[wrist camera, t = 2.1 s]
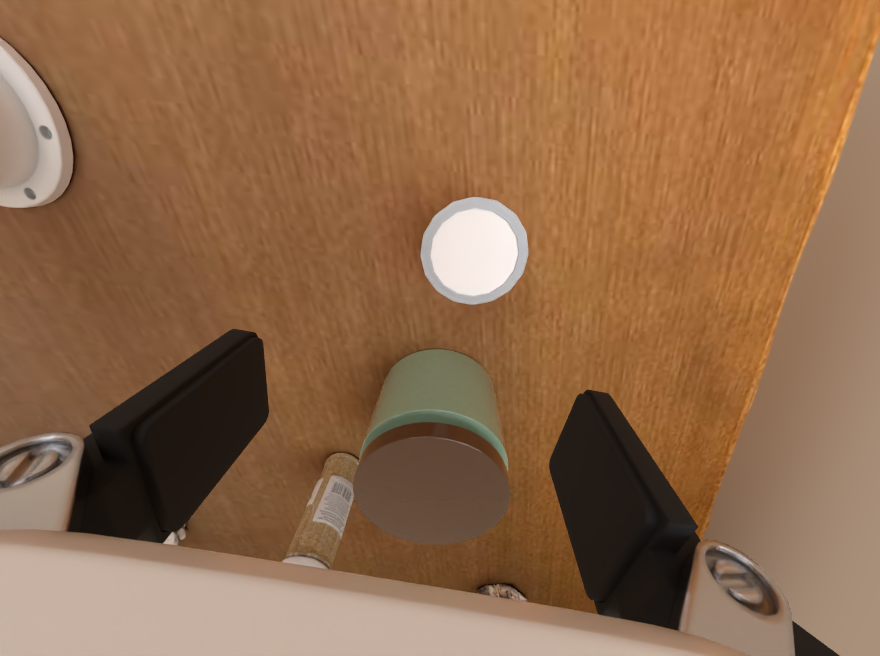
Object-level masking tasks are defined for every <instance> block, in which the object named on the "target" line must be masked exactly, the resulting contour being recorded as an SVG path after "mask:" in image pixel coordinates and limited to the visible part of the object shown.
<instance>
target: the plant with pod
mask: <svg viewBox="0 0 880 656" xmlns="http://www.w3.org/2000/svg"><path fill="white" fill-rule="evenodd" d="M476 594H482V595H488V596H494V597H500V598H506V599H512V600H518V601H524V602H527V601H528V599H526V598H524V597H523V596H522V595H521V593H517V591H516V589H515V588H513V587H511V586H508V585H507V586H506V585H503V584H502V585H501V584H497V586H495V585H494V584H493V585H491V586H489V587H488V585H487V586H484V588H483V587H481V589H479V590H478V591H477V593H476Z"/></svg>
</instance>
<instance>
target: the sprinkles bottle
mask: <svg viewBox="0 0 880 656" xmlns="http://www.w3.org/2000/svg"><path fill="white" fill-rule="evenodd" d="M358 463H359V460H358V459H357V458H356V457H354V456H352V455H350V454H347V453H336V454H333V455H331V456H330V457H329V458H328V459H327V460H326V462H325V466H324V469H323V472H322V474H321V476H320V478H319V481H318V482H317V484H316V486H315V488H314V491H313V493H312V495H311V498H310V500H309V502H308V504H307V507H306V510H305V512H304V514H303V517H302V520H301V522H300V524H299V527H298V529H297V531H296V533H295V535H294V538H293V540H292V543H291V545H290V547H289V550H288V552H287V554H286V556H285V557H284V559H283V561H282V562H285V563H291V564H298V565H304V566H310V567H316V568H323V569H329V570H331V566H332V563H333V561H334V557H335V554H336V551H337V548H338V545H339V542H340V540H341V537H342V534H343V531H344V528H345V524H346V521H347V518H348V515H349V511H350V508H351V505H352V502H353V499H354V493H353V480H354V475H355V472H356V469H357V466H358Z"/></svg>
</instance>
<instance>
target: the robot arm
mask: <svg viewBox="0 0 880 656" xmlns="http://www.w3.org/2000/svg"><path fill="white" fill-rule="evenodd" d="M72 172H73V151H72V144H71V139H70V135H69V132H68V129H67V126H66V122H65V120H64V118H63V116H62V114H61V112H60V109H59V107H58V105H57V103H56V102H55V100H54V98H53V97H52V95H51V93H50V92H49V90H48V89H47V87H46V85H45V84H44V83H43V81H42V80H41V79H40V77H39V76H38V75H37V74H36V72H35V71H34V70H33V69H32V67H31V66H30V65H29V64H28V63H27V62H26V61H25V60H24V59H23V58H22V57H21V56H20V55H19V54H18V53H17V52H16V51H15V50H14V48H13V47H11V46H10V45H9V44H8V43H6V42H5V41H4V40H3V39H1V38H0V206H4V207H9V208H28V207H36V206H43V205H46V204H48V203H51V202H53V201H55V200H56V199H57V198H58V197H60V196H61V195H62V194H63V192H64V191H65V189H66V188H67V186H68V185H69V182H70V179H71V175H72ZM268 414H269V407H268V395H267V383H266V372H265V360H264V348H263V341H262V339H260V338H258V336H257V334H256V333H254V332H249V331H244V330H238V329H232V330H230V331H228V332H227V333H225V334H224V335H222V336H221V337H219V338H218V339H217V340H215V341H214V342H212V343H211V344H209V345H208V346H206V347H205V348H203V349H202V350H200V351H199V352H197V353H196V354H194V355H193V356H191V357H190V358H188V359H187V360H185V361H184V362H182V363H181V364H179V365H178V366H177V367H175V368H174V369H172V370H171V371H169V372H168V373H166V374H165V375H163V376H162V377H160V378H159V379H157V380H156V381H154V382H153V383H151V384H150V385H148V386H147V387H145V388H144V389H142V390H141V391H140V392H138V393H137V394H135V395H134V396H132V397H131V398H129V399H128V400H126V401H125V402H123V403H122V404H120V405H119V406H117V407H116V408H114V409H113V410H111V411H110V412H108V413H107V414H105V415H104V416H103V417H101V418H100V419H98V420H97V421H95V422H94V423H92V424H91V425H89V426H90V429H91V431H92V434H90V435H89V436H87V437H86V438H84V439H81V438H80V437H79V436H78V435H75V434H71V433H67V432H53V433H47V434H40V435H35V436H32V437H28V438H25V439H21V440H18V441H15V442H13V443H10V444H8V445H6V446H3V447H1V448H0V656H839V655H838V654H837V653H835V652H834V651H833V650H831V649H830V648H828V647H827V646H826V645H824V644H823V643H822V642H820V641H819V640H818V639H816V638H815V637H814V636H812V635H811V634H810V633H808V632H806V630H804V629H803V628H801V627H800V626H799V625H797V624H796V623H795V622H793V621H792V613H791V610H790V607H789V604H788V601H787V599H786V597H785V596H784V594H783V592H782V591H781V589H780V587H779V586H778V585H777V584H776V583H775V581H774V580H773V579H772V578H771V577H770V575H769V574H768V573H767V572H766V571H765V570H763V569H762V568H761V567H760V566H759V565H758V564H757V563H756V562H755V561H753V560H752V559H751V558H749V557H748V556H747V555H745V554H744V553H742V552H741V551H739V550H737V549H735V548H734V547H732V546H730V545H728V544H726V543H723V542H720V541H717V540H707V539H706V540H703V541H700V539H699V537H698V536H697V534H696V533H695V530H696V529H697V528H698V526H697V524H696V523H695V521H694V520H693V518H692V517H691V515H690V514H689V512H688V511H687V509H686V508H685V506H684V505H683V503H682V502H681V500H680V499H679V497H678V496H677V494H676V493H675V491H674V490H673V488H672V487H671V485H670V484H669V482H668V481H667V479H666V478H665V476H664V475H663V473H662V472H661V470H660V469H659V467H658V466H657V464H656V463H655V461H654V460H653V459H652V457H651V456H650V454H649V453H648V451H647V450H646V448H645V447H644V445H643V444H642V442H641V441H640V439H639V438H638V436H637V435H636V433H635V432H634V430H633V429H632V427H631V426H630V424H629V423H628V421H627V420H626V418H625V417H624V415H623V414H622V412H621V411H620V409H619V408H618V406H617V405H616V403H615V402H614V400H613V399H612V397H611V396H610V395H609V394H608V393H604V392H598V391H592V390H586V391H585V392H584V393H583V394H579V395H578V396H577V398H576V400H575V402H574V405H573V407H572V409H571V412H570V414H569V416H568V419H567V421H566V423H565V426H564V428H563V430H562V433H561V435H560V437H559V440H558V442H557V444H556V447H555V449H554V451H553V454H552V456H551V458H550V463H549V468H550V473H551V476H552V480H553V483H554V487H555V490H556V493H557V497H558V500H559V503H560V507H561V510H562V514H563V517H564V520H565V524H566V527H567V530H568V534H569V537H570V541H571V544H572V547H573V551H574V554H575V557H576V561H577V564H578V568H579V571H580V574H581V578H582V581H583V584H584V588H585V591H586V594H587V595H588V597H589V598H590V599H591V600H594V603H595V606H596V609H597V612H598V614H593V613H588V612H583V611H577V610H572V609H566V608H560V607H554V606H548V605H542V604H536V603H530V602H524V601H518V600H512V599H506V598H500V597H494V596H488V595H482V594H476V593H470V592H464V591H458V590H452V589H446V588H440V587H434V586H428V585H422V584H415V583H409V582H403V581H397V580H391V579H385V578H379V577H372V576H366V575H360V574H354V573H348V572H341V571H335V570H329V569H323V568H316V567H310V566H304V565H298V564H291V563H285V562H278V561H272V560H266V559H259V558H253V557H246V556H240V555H234V554H227V553H221V552H214V551H208V550H201V549H195V548H189V547H182V546H176V545H169V544H163V543H164V542H165V540H166V539H167V538H168V537H169V535H170V534H171V533H172V532H176V531H178V530H180V529H181V528H182V527H183V526H184V525H185V524H186V522H187V521H188V520H189V518H190V517H191V516H192V515H193V513H194V512H195V511H196V510H197V508H198V507H199V506H200V505H201V503H202V502H203V501H204V499H205V498H206V497H207V496H208V494H209V493H210V492H211V491H212V489H213V488H214V487H215V486H216V484H217V483H218V482H219V480H220V479H221V478H222V477H223V475H224V474H225V473H226V472H227V470H228V469H229V468H230V467H231V465H232V464H233V463H234V462H235V460H236V459H237V458H238V456H239V455H240V454H241V453H242V451H243V450H244V449H245V448H246V446H247V445H248V444H249V443H250V441H251V440H252V439H253V437H254V436H255V435H256V434H257V432H258V431H259V430H260V429H261V427H262V426H263V425H264V423H265V422H266V420H267V417H268Z"/></svg>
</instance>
